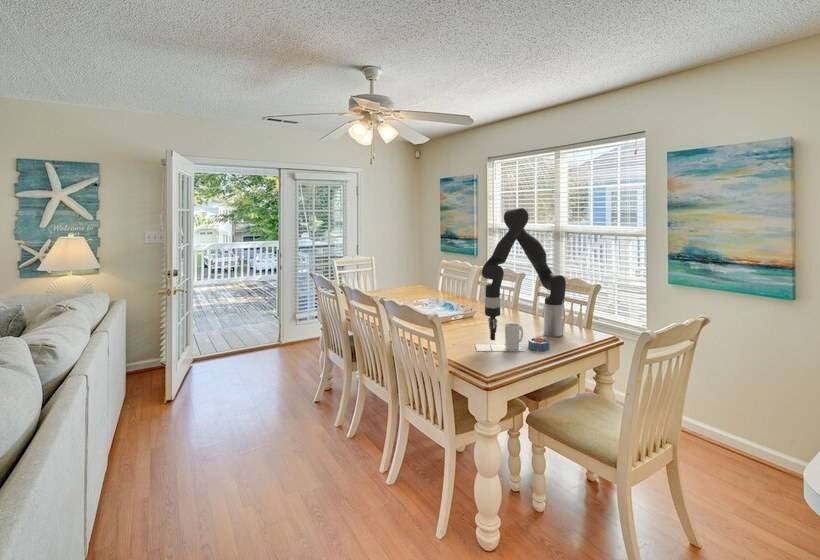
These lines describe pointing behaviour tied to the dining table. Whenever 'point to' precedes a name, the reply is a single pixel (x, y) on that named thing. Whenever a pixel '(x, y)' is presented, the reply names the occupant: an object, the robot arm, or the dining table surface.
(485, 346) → the board
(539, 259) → the robot arm
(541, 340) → the dome button
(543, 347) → the blue ribbed round dish
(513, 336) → the mug
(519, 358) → the dining table surface
